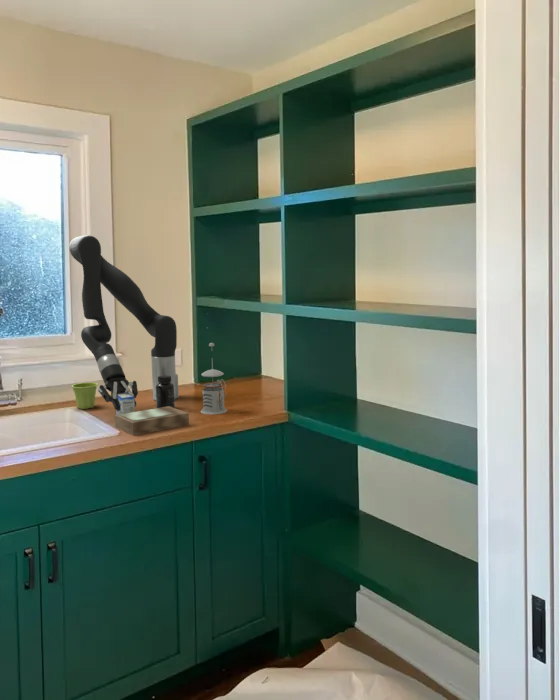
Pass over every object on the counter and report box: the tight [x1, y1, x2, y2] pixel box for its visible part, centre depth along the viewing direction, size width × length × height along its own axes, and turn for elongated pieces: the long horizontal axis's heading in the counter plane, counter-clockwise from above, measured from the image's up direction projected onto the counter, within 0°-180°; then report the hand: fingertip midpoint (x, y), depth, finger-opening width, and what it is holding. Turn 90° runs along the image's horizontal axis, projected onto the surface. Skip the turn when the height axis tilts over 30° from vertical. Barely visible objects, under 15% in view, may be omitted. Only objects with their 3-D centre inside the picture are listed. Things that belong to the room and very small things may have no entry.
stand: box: [114, 406, 190, 436], centre depth 218 cm, size 20×14×4 cm
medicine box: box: [115, 393, 136, 415], centre depth 227 cm, size 8×4×9 cm, turn 31°
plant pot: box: [71, 382, 99, 410], centre depth 248 cm, size 9×9×9 cm
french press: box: [200, 342, 228, 415], centre depth 236 cm, size 10×12×25 cm
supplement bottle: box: [155, 376, 176, 409], centre depth 243 cm, size 7×7×12 cm
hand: (126, 408), depth 226 cm, fingers closed on medicine box, 5 cm apart
